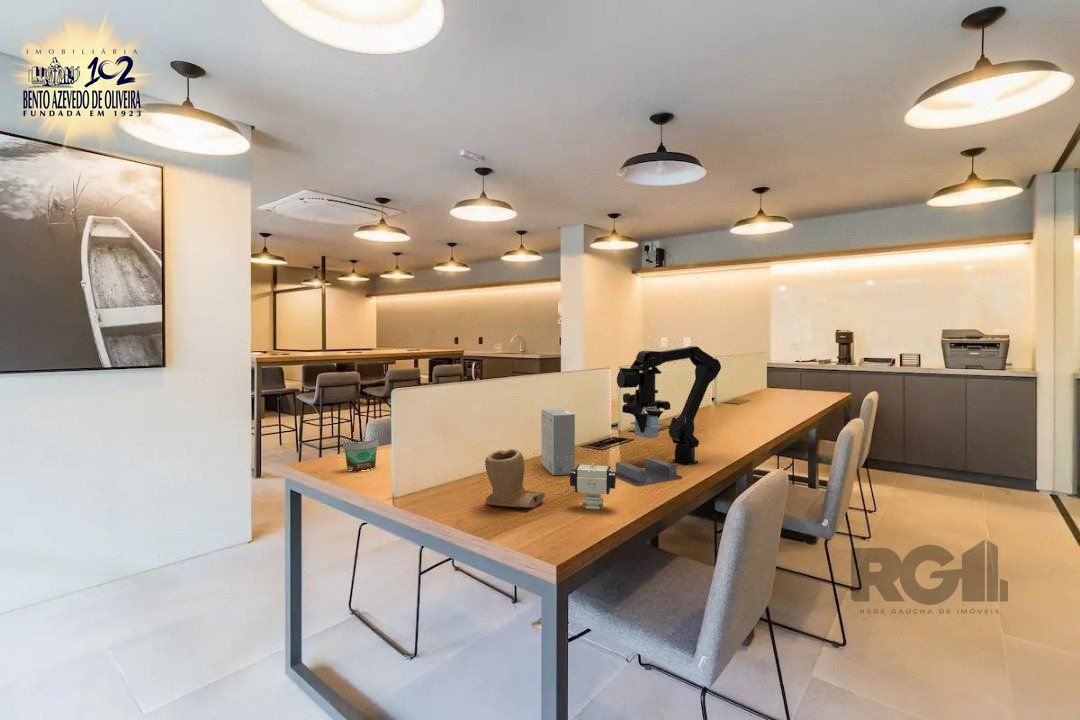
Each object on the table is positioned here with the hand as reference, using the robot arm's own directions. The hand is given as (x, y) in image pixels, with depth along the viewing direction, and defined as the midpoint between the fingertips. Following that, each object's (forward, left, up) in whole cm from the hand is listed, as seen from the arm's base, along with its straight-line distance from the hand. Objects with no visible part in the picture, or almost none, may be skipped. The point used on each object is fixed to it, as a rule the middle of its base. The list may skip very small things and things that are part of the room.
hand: (646, 431), depth 173 cm
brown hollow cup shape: (+57, +15, -12) cm, 61 cm away
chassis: (+8, +10, -12) cm, 18 cm away
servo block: (0, 0, -2) cm, 2 cm away
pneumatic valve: (+39, +27, -12) cm, 50 cm away
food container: (+88, -41, -12) cm, 98 cm away
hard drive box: (+29, -11, -12) cm, 34 cm away
